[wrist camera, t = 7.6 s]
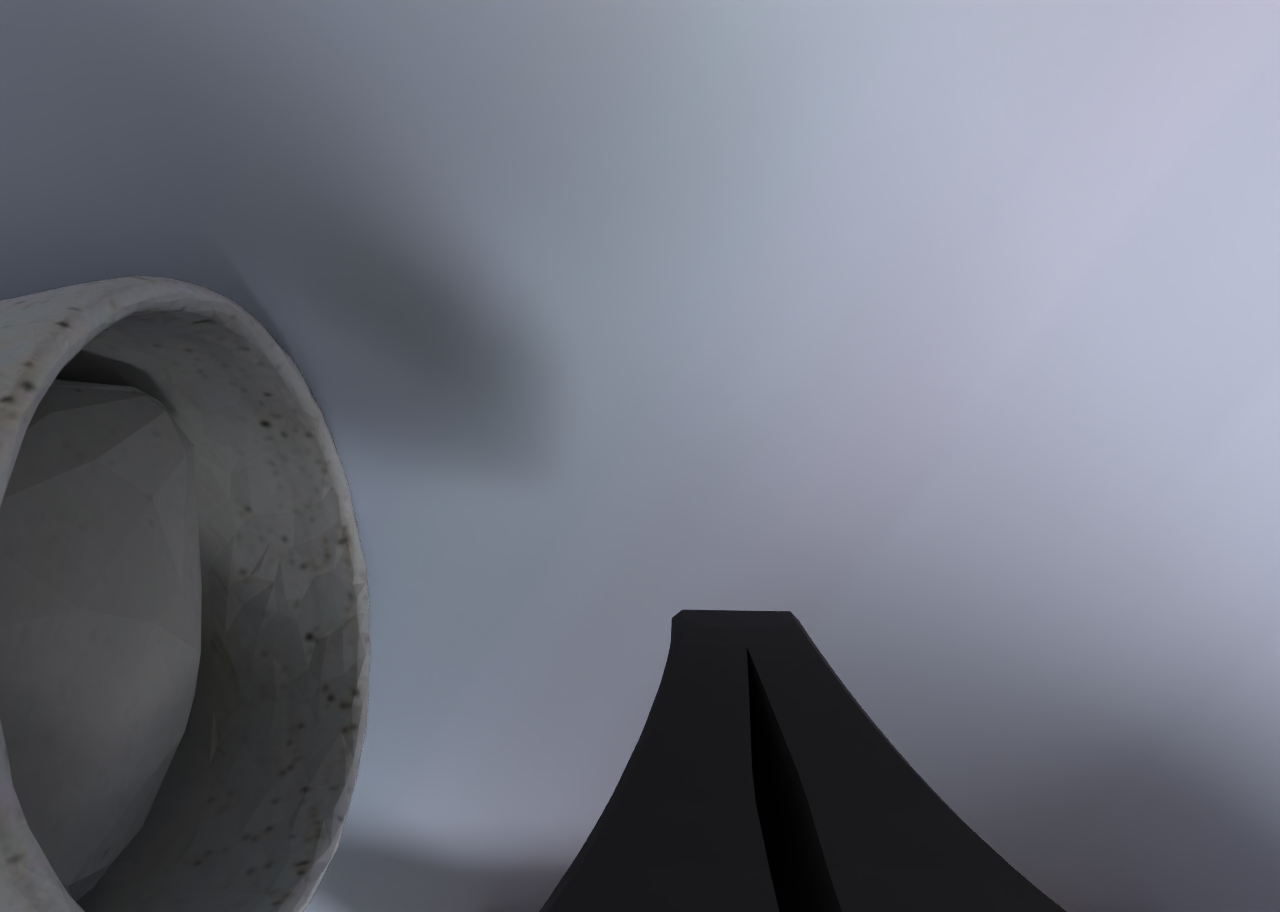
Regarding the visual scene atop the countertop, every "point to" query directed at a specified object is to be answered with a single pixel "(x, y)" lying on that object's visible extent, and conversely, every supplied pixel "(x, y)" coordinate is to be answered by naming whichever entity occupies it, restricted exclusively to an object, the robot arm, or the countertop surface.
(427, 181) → the countertop surface
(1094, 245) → the countertop surface
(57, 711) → the ceramic mug
